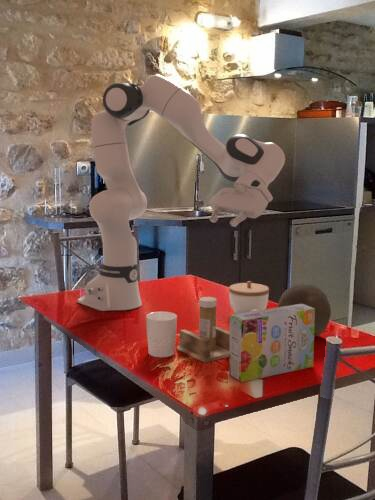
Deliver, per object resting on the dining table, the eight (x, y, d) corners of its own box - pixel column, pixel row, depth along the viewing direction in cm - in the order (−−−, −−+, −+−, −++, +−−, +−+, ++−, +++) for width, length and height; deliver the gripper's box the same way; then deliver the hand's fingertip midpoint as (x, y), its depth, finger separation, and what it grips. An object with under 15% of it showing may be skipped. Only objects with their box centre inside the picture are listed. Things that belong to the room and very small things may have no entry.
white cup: (149, 359, 145) (149, 321, 143) (143, 349, 152) (143, 312, 151) (180, 357, 147) (180, 319, 145) (172, 346, 154) (172, 310, 153)
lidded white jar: (250, 307, 193) (251, 275, 191) (276, 317, 183) (277, 282, 181) (220, 313, 186) (221, 280, 184) (245, 323, 176) (246, 288, 174)
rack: (176, 349, 153) (177, 330, 152) (209, 341, 159) (209, 322, 158) (204, 362, 143) (205, 342, 142) (238, 353, 150) (238, 334, 149)
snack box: (299, 360, 146) (301, 302, 143) (313, 367, 141) (316, 308, 138) (227, 375, 136) (229, 313, 133) (240, 383, 131) (242, 319, 128)
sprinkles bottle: (219, 349, 150) (220, 299, 148) (205, 352, 148) (205, 301, 146) (209, 344, 154) (210, 295, 152) (195, 347, 152) (195, 297, 149)
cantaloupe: (310, 326, 173) (313, 277, 170) (339, 341, 160) (342, 288, 157) (269, 331, 168) (270, 281, 165) (295, 347, 155) (297, 293, 152)
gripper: (221, 179, 179) (194, 211, 176) (266, 183, 163) (238, 220, 159) (231, 193, 183) (205, 225, 179) (277, 199, 167) (250, 235, 163)
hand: (221, 223), depth 169 cm, fingers open, 8 cm apart
